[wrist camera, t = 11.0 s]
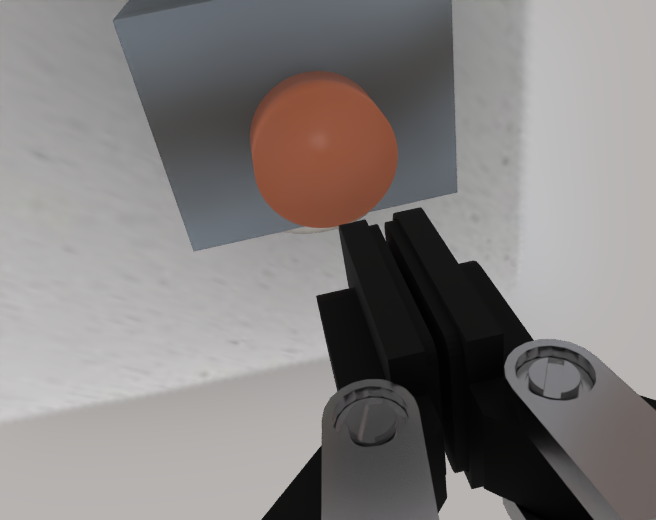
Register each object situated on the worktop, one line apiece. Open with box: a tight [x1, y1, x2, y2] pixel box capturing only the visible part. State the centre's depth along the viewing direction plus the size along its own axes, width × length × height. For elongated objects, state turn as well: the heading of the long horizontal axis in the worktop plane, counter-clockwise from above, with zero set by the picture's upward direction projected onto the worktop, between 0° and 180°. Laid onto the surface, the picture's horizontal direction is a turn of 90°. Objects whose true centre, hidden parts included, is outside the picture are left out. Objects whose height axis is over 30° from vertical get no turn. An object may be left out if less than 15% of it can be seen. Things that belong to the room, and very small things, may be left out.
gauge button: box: [250, 71, 398, 228], centre depth 16 cm, size 4×4×2 cm
